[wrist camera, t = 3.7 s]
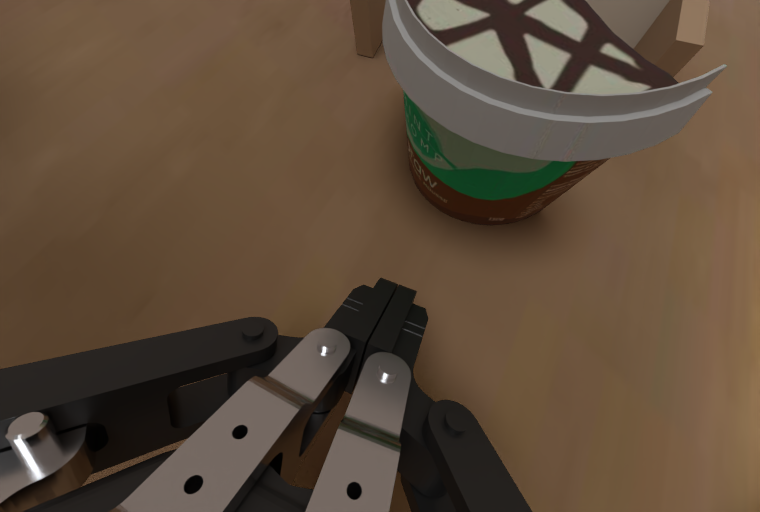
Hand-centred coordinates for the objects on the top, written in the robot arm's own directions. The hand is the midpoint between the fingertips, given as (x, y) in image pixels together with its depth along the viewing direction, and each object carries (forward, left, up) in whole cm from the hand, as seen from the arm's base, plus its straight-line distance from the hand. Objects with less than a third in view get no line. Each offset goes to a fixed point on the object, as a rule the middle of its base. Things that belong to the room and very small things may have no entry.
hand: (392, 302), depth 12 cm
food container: (0, +9, -5) cm, 10 cm away
